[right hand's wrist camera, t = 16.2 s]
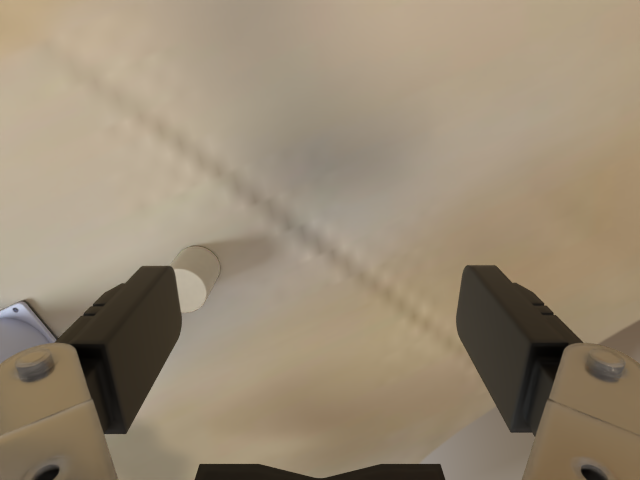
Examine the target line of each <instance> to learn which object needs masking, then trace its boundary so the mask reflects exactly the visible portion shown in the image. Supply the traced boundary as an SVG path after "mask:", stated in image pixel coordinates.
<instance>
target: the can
mask: <svg viewBox="0 0 640 480" xmlns="http://www.w3.org/2000/svg"><path fill="white" fill-rule="evenodd" d="M169 266H171V267H172V268H173V269H174V272H175V276H176V282H177V289H178V296H179V302H180V309H181V313H189V312H193V311H196V310H197V309H199V308H200V307H201V306H202V305H203V304H204V303H205V301H206V299H207V297H208V295H209V293H210V291H211V289H212V287H213V286H214V284H215V282H216V280H217V278H218V276H219V273H220V264H219V261H218V259H217V257H216V256H215V255H214V254H213V253H212V252H211V251H210V250H208V249H206V248H203V247H199V246H192V247H188V248H185V249H184V250H182V251H181V252H180V253H179V254H178V256H177V257H176V258H175V259H174V260H173V262H172V263H171V264H170V265H169Z"/></svg>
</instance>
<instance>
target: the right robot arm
mask: <svg viewBox="0 0 640 480" xmlns="http://www.w3.org/2000/svg"><path fill="white" fill-rule="evenodd" d="M181 324H182V316H181V309H180V302H179V296H178V289H177V282H176V276H175V272H174V269H173V268H172V267H171V266H142V267H141V268H139V270H138V271H137V272H136V273H135V274H134V275H133V276H132V277H131V278H130V279H129V280H128V281H127V282H126V283H125V284H120V285H118V286H116V287H114V288H113V289H111V290H109V291H107V292H105V293H104V294H103V295H102V296H101V297H100V298H99V299H98V300H97V301H96V302H95V303H94V304H93V306H91V307H90V308H89V309H88V310H87V311H86V312H85V313H84V316H81V317H80V318H79V319H78V320H77V321H76V322H75V323H74V324H73V325H72V326H71V327H70V328H69V329H68V330H67V331H66V332H65V333H64V334H62V335H61V336H60V337H59V338H58V339H57V340H56V341H55V342H54V343H48V344H42V345H38V346H34V347H31V348H28V349H25V350H23V351H21V352H18V353H16V354H15V355H13V356H11V357H9V358H8V359H6V360H5V361H3V362H2V363H1V364H0V480H118V477H117V474H116V471H115V468H114V465H113V462H112V458H111V455H110V452H109V449H108V446H107V443H106V439H105V436H104V434H126V433H127V431H128V429H129V428H130V426H131V424H132V422H133V420H134V418H135V417H136V415H137V413H138V411H139V409H140V408H141V406H142V404H143V402H144V400H145V398H146V397H147V395H148V393H149V391H150V389H151V387H152V386H153V384H154V382H155V380H156V378H157V376H158V375H159V373H160V371H161V369H162V367H163V365H164V364H165V362H166V360H167V358H168V356H169V355H170V353H171V351H172V349H173V347H174V345H175V344H176V342H177V340H178V338H179V335H180V331H181ZM456 325H457V331H458V335H459V337H460V339H461V341H462V343H463V345H464V347H465V349H466V350H467V352H468V354H469V356H470V358H471V360H472V362H473V363H474V365H475V367H476V369H477V371H478V373H479V375H480V376H481V378H482V380H483V382H484V384H485V386H486V387H487V389H488V391H489V393H490V395H491V397H492V399H493V400H494V402H495V404H496V406H497V408H498V410H499V411H500V413H501V415H502V417H503V419H504V421H505V423H506V424H507V426H508V428H509V430H510V432H532V433H533V434H534V436H535V439H534V443H533V446H532V449H531V452H530V455H529V458H528V462H527V465H526V468H525V471H524V474H523V477H522V480H640V364H639V363H638V362H637V361H635V360H634V359H632V358H631V357H629V356H627V355H625V354H624V353H622V352H619V351H617V350H615V349H612V348H609V347H606V346H602V345H598V344H592V343H583V342H582V341H581V340H580V339H579V338H578V337H577V336H576V335H575V334H574V333H573V332H572V331H571V330H570V329H569V328H568V327H567V326H566V325H565V324H564V323H563V322H562V321H561V320H560V319H559V318H558V317H557V316H556V315H553V312H552V311H551V310H550V309H549V308H548V307H547V306H544V303H543V302H542V301H541V300H540V299H539V298H538V297H537V296H536V295H535V294H534V293H533V292H531V291H530V290H528V289H526V288H524V287H522V286H521V285H519V284H517V283H512V282H511V281H510V280H509V279H508V278H507V277H506V276H505V275H504V274H503V273H502V272H501V270H500V269H499V268H498V267H497V266H495V265H467V266H466V267H465V268H464V270H463V274H462V281H461V287H460V294H459V301H458V308H457V315H456ZM195 480H445V477H444V474H443V471H442V468H441V465H440V464H379V465H375V466H371V467H367V468H363V469H359V470H355V471H351V472H347V473H343V474H339V475H335V476H331V477H327V478H313V477H309V476H305V475H301V474H297V473H293V472H289V471H285V470H281V469H277V468H273V467H269V466H265V465H261V464H200V465H199V468H198V471H197V474H196V477H195Z"/></svg>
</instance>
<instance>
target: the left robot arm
mask: <svg viewBox="0 0 640 480" xmlns="http://www.w3.org/2000/svg"><path fill="white" fill-rule="evenodd" d="M16 308H17V309H18V310H17V309H16ZM55 341H56V339H55V337H54V336H53V335H52V334H51V333H50V331H49V330H48V329H47V328H46V327H45V325H44V324H43V323H42V322H41V321H40V319H39V318H38V317H37V316H36V315H35V313H34V312H33V311H32V310H31V309H30V307H29V306H28V305H27V304H26V303H25V302H22V301H21V302H18V303H15V304H13V305H11V306H9V307H7V308H5V309H2V310H0V364H1V363H2V362H3V361H5V360H6V359H8V358H9V357H11V356H13V355H15V354H16V353H18V352H21V351H23V350H25V349H28V348H31V347H34V346H38V345H42V344H48V343H54V342H55Z"/></svg>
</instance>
